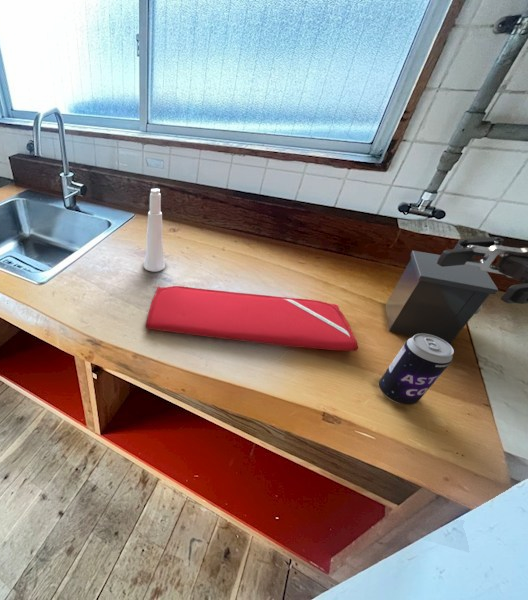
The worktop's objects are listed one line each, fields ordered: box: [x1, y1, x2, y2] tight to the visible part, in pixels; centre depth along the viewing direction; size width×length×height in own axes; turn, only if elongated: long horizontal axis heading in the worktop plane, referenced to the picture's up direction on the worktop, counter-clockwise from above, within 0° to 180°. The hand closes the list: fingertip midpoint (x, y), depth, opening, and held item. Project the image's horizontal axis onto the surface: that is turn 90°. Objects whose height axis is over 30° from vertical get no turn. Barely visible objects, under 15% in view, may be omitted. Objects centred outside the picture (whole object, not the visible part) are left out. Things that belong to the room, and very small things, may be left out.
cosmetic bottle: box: [143, 188, 166, 272], centre depth 86 cm, size 6×6×22 cm
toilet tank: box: [384, 250, 499, 345], centre depth 65 cm, size 11×11×14 cm
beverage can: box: [378, 333, 455, 406], centre depth 52 cm, size 6×6×12 cm
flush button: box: [474, 304, 483, 315], centre depth 63 cm, size 3×3×3 cm
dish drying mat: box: [145, 285, 359, 352], centre depth 71 cm, size 16×41×4 cm, turn 76°
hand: (472, 275), depth 40 cm, fingers open, 8 cm apart
